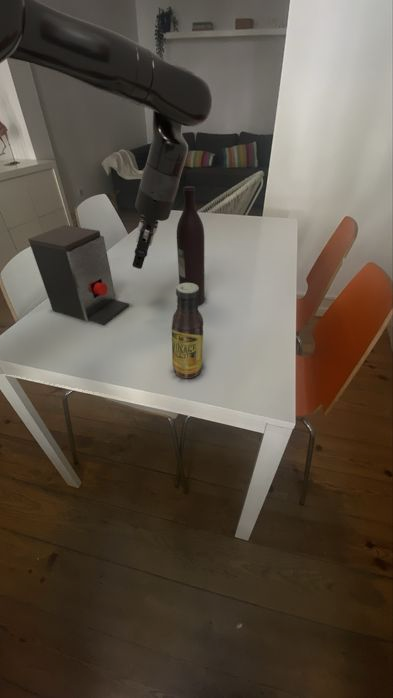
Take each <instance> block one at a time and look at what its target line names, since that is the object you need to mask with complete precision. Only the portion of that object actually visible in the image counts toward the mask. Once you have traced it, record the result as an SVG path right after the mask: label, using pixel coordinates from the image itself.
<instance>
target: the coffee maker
mask: <svg viewBox="0 0 393 698" xmlns="http://www.w3.org/2000/svg"><path fill="white" fill-rule="evenodd" d="M27 240H28V242H29V246H30V248H31V251H32V254H33V257H34V260H35V263H36V266H37V269H38V272H39V276H40V277H41V280H42V283H43V286H44V290H45V292H46V295H47V297H48V301H49V304H50V306H51V309H52V311H53V312H55V313H59V314H62V315H66V316H69V317H72V318H75V319H79V320H81V321H85V322H91V323H92V322H93V323H96V324H99V325H102V326H105V325H106V324H108V323H110V321H112V320H113V319H114V318H116V317H117V316H119V315H120V314H121V313H122V312H123V311H125V310H126V309H127V308H129V307H130V303H128V302H125V301H121V300H117V297H116V296H117V295H116V292H115V287H114V282H113V276H112V271H111V266H110V262H109V257H108V250H107V246H106V241H105V236H104V235H101V231H100V230H96V229H92V228H91V229H90V228H86V227H79V226H72V225H66V224H63V225H61V226H59V227H56V228H53V229H50V230H48V231H45V232H43V233H40V234H38V235H35V236H33V237H30V238H28V239H27ZM97 282H99V283H103V284H106V285H107V293H106V294H105V295H104V296H101V295H97V294H95V293H94V290H93V288H94V285H95V284H96V283H97Z"/></svg>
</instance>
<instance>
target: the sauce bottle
mask: <svg viewBox="0 0 393 698" xmlns="http://www.w3.org/2000/svg"><path fill="white" fill-rule="evenodd" d="M175 290H176V291H175V294H176V297H177V298H176V299H177V301H176V302H177V303H176V304H177V305H176V310H175V312H174V313H173V315H172V321H171V358H172V367H173V373H174V374H175V375H176V376H178V377H179V378H182V379H193V378H195V377H197V376H198V375H199V374H201V371H202V368H203V350H204V349H203V345H204V318H203V316H202V314H201V312H200V311H199V305H198V295H199V287H198V286H197V285H196V284H194V283H182V284H179V283H178V285H176V287H175Z"/></svg>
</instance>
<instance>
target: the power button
mask: <svg viewBox="0 0 393 698" xmlns="http://www.w3.org/2000/svg"><path fill="white" fill-rule="evenodd" d="M93 290H94V293H95V294H97V295H101V296H104V295H105V294H106V293H107V285H106V284H103V283H99V282H97V283H96V284H95V285H94V288H93Z"/></svg>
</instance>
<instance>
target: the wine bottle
mask: <svg viewBox="0 0 393 698" xmlns="http://www.w3.org/2000/svg"><path fill="white" fill-rule="evenodd" d="M182 195H183V210H182V212H181V215H180V217H179V219H178V222H177V226H176V251H177V266H178V267H177V268H178V285H179V284H182V283H194V284H196V285H197V286H198V287H199V295H198V306H200V305H202V304H204V302H205V229H204V224H203V221H202V218H201V217H200V215H199V213H198V211H197V209H196V202H195V201H196V198H195V195H196V188H195V186H194V185H186V186H183V188H182Z"/></svg>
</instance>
